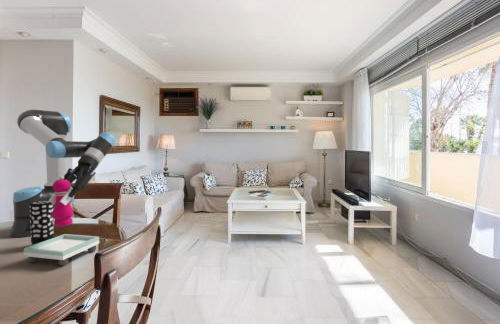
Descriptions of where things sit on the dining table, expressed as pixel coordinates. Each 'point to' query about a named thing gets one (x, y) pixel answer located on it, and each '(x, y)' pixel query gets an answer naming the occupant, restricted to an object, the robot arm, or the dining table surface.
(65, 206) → the pepper mill
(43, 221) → the white-spotted black cylinder
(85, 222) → the dining table surface
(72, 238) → the rolling base
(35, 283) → the dining table surface
